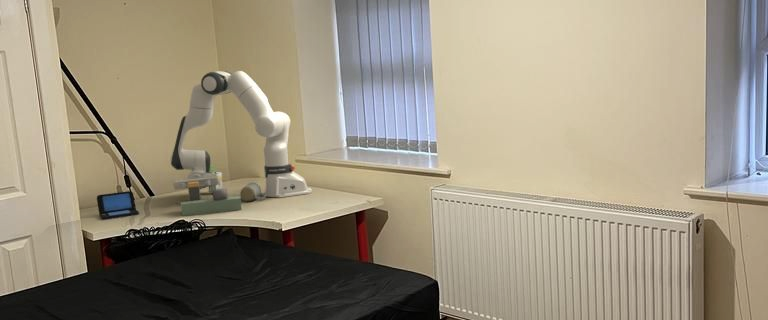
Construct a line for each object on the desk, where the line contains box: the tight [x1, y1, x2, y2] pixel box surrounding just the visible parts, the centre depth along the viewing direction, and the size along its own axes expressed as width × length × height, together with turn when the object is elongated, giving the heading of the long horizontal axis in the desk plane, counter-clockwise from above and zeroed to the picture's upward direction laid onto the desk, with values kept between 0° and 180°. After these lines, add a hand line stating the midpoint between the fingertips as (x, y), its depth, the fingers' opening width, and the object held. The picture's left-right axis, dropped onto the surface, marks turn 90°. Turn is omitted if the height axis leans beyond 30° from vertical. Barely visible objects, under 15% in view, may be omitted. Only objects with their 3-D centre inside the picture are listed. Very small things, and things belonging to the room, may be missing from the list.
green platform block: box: [180, 188, 243, 217], centre depth 313 cm, size 25×12×9 cm, turn 103°
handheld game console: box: [96, 190, 140, 221], centre depth 315 cm, size 16×13×9 cm
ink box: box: [208, 164, 223, 193], centre depth 353 cm, size 7×4×13 cm, turn 169°
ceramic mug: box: [240, 182, 267, 202], centre depth 329 cm, size 11×8×8 cm
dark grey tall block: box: [187, 182, 202, 201], centre depth 314 cm, size 4×6×13 cm
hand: (195, 185), depth 326 cm, fingers open, 8 cm apart
